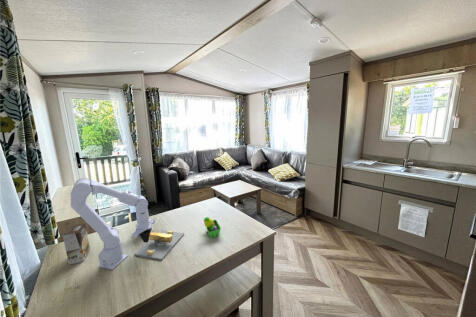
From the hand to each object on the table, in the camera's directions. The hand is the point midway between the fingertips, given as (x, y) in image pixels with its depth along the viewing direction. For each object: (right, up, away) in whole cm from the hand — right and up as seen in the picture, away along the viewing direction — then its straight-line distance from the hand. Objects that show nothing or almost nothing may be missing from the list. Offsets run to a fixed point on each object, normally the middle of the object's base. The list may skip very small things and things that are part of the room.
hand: (146, 241), depth 102 cm
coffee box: (-32, -6, -5) cm, 33 cm away
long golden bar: (+7, -1, +4) cm, 8 cm away
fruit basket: (+34, -1, +14) cm, 36 cm away
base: (+7, -3, +4) cm, 8 cm away
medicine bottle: (-8, -1, +16) cm, 18 cm away
